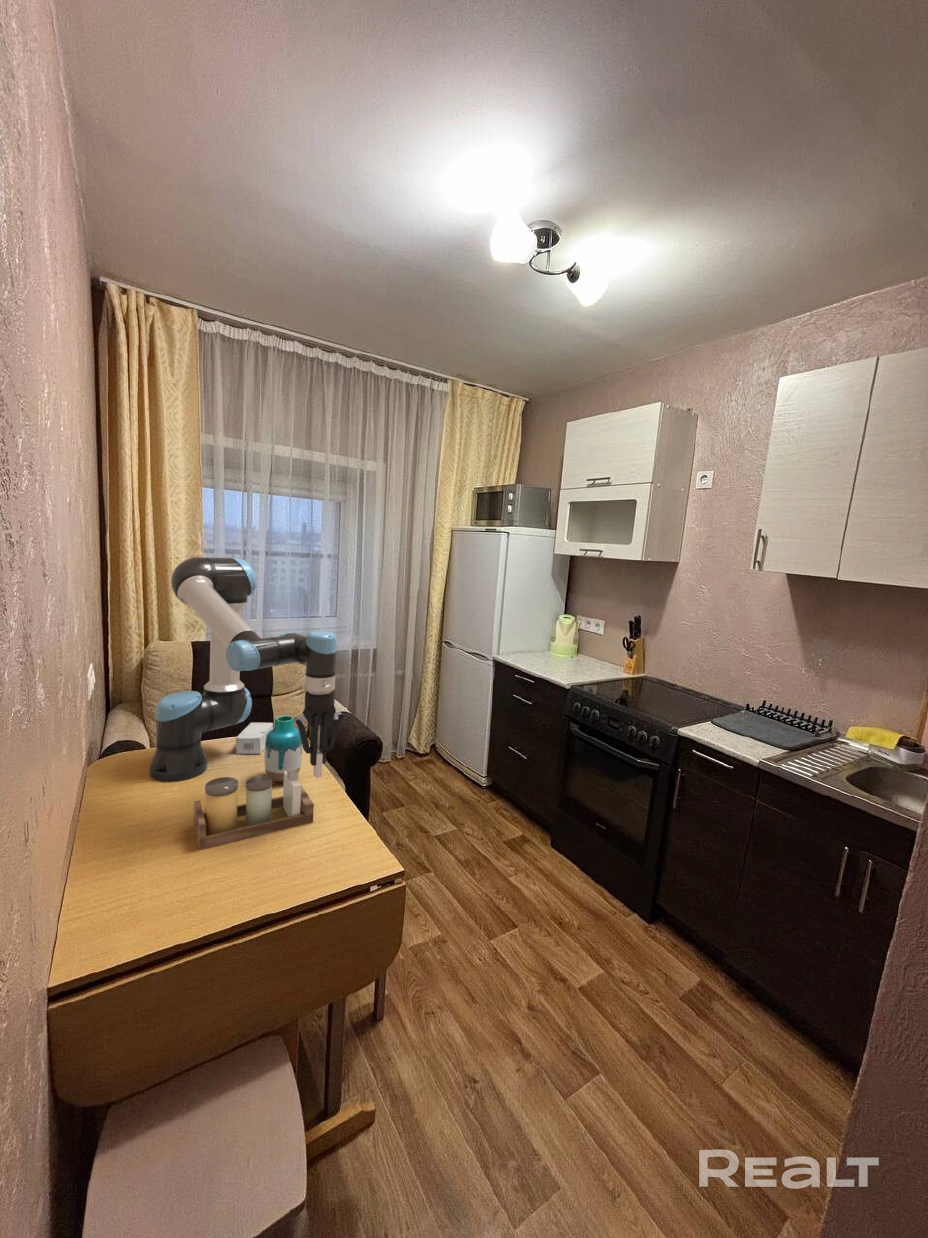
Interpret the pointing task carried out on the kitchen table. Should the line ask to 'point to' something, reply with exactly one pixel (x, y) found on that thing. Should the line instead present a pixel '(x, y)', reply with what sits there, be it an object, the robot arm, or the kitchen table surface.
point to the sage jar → (258, 800)
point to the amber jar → (221, 805)
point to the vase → (282, 748)
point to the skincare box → (253, 738)
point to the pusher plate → (291, 792)
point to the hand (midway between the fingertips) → (317, 775)
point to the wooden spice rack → (252, 830)
